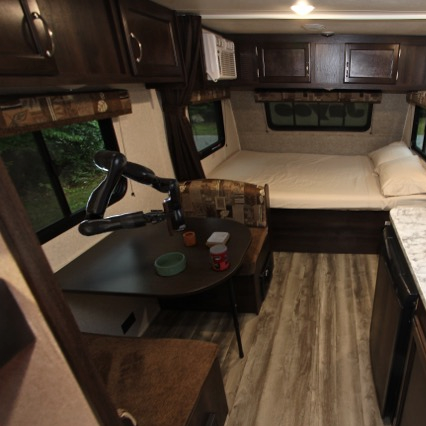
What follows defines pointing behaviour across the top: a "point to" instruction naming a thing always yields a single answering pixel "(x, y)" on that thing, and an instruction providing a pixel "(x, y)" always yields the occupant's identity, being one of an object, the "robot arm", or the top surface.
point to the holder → (189, 238)
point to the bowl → (170, 264)
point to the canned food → (219, 257)
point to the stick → (168, 219)
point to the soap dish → (217, 239)
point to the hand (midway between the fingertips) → (173, 213)
